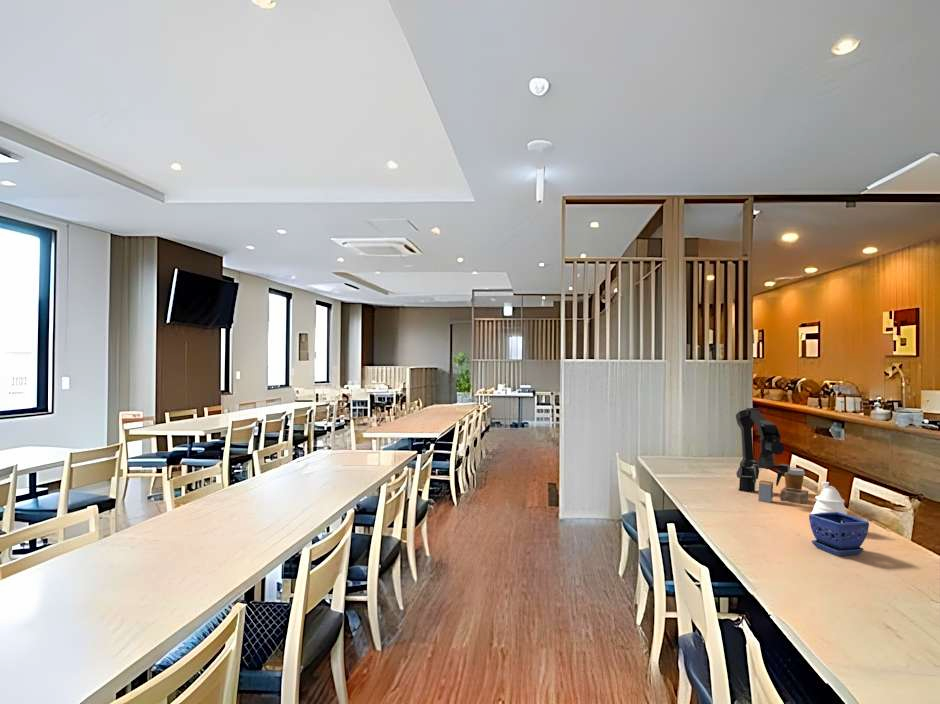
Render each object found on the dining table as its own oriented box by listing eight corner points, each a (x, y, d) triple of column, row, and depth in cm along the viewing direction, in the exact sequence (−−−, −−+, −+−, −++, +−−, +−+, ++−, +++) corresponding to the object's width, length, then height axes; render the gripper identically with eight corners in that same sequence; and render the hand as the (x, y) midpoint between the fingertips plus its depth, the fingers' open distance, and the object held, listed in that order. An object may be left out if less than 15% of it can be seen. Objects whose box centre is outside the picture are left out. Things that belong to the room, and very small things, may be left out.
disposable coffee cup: (804, 493, 297) (805, 468, 297) (803, 496, 289) (804, 472, 289) (783, 490, 302) (784, 466, 302) (781, 493, 294) (782, 469, 294)
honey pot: (811, 529, 234) (812, 483, 234) (810, 521, 245) (811, 477, 245) (850, 535, 228) (851, 488, 228) (846, 526, 239) (848, 481, 239)
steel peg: (758, 501, 277) (759, 481, 277) (760, 499, 281) (761, 480, 281) (770, 503, 274) (770, 483, 274) (772, 501, 278) (773, 481, 278)
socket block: (780, 500, 280) (780, 490, 280) (784, 496, 288) (784, 487, 288) (804, 504, 274) (804, 494, 274) (808, 500, 282) (808, 490, 282)
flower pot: (838, 559, 200) (839, 523, 200) (806, 546, 213) (807, 512, 213) (869, 556, 204) (870, 521, 204) (836, 543, 217) (837, 511, 217)
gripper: (741, 450, 277) (740, 483, 277) (786, 455, 265) (784, 490, 265) (747, 447, 285) (746, 480, 286) (790, 452, 274) (789, 486, 274)
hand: (765, 484), depth 278 cm, fingers open, 9 cm apart
